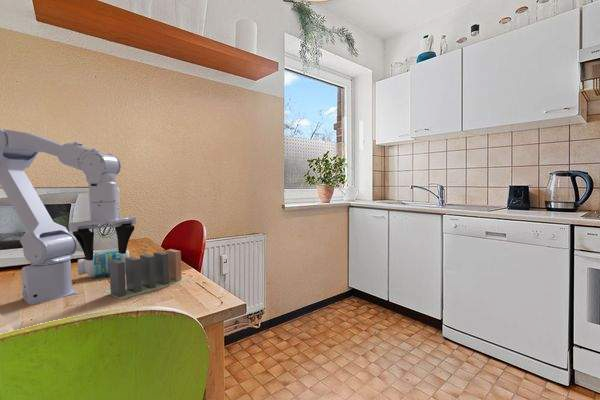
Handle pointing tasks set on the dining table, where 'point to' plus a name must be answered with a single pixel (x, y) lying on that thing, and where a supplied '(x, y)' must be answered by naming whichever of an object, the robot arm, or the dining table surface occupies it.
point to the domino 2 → (133, 274)
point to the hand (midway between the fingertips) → (106, 256)
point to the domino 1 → (117, 278)
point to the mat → (146, 289)
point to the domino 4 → (161, 268)
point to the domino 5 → (174, 264)
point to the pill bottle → (100, 263)
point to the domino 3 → (148, 271)
